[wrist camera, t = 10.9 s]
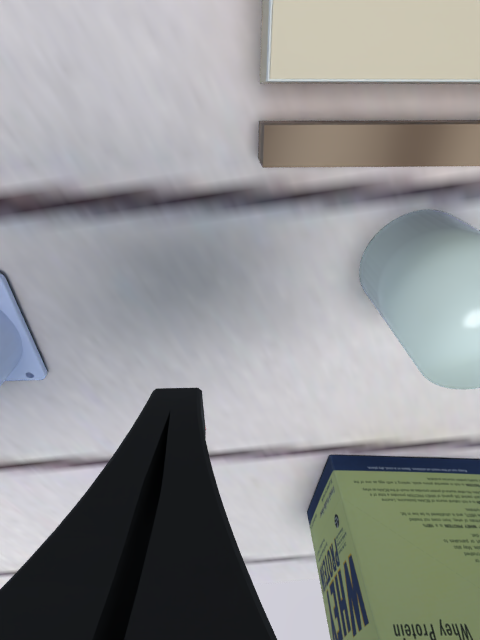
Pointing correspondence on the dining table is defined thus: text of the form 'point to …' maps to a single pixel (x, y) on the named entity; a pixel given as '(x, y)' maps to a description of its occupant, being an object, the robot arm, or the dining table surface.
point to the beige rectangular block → (370, 41)
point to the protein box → (398, 547)
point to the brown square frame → (369, 143)
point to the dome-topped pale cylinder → (429, 292)
